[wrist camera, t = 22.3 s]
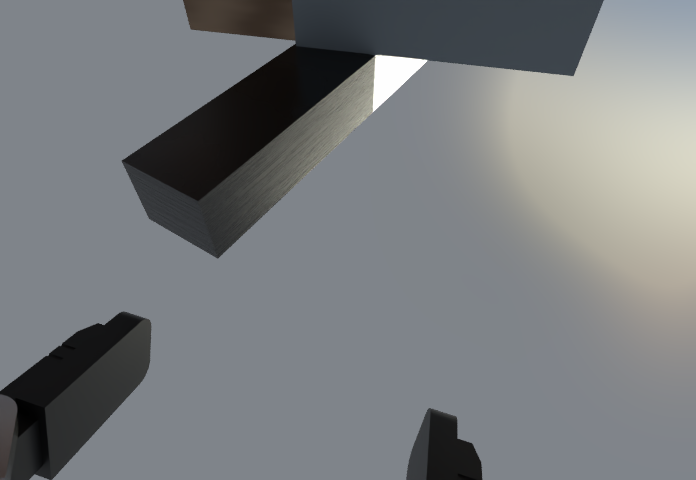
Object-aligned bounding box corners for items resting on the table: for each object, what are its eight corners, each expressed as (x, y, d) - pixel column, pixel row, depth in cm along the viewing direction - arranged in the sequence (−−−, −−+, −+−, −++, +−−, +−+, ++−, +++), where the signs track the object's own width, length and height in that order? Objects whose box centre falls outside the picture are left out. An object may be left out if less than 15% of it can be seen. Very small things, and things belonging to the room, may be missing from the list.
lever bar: (198, 201, 12) (217, 258, 14) (517, -62, 25) (506, -14, 27) (121, 160, 13) (149, 218, 15) (466, -71, 26) (458, -25, 28)
